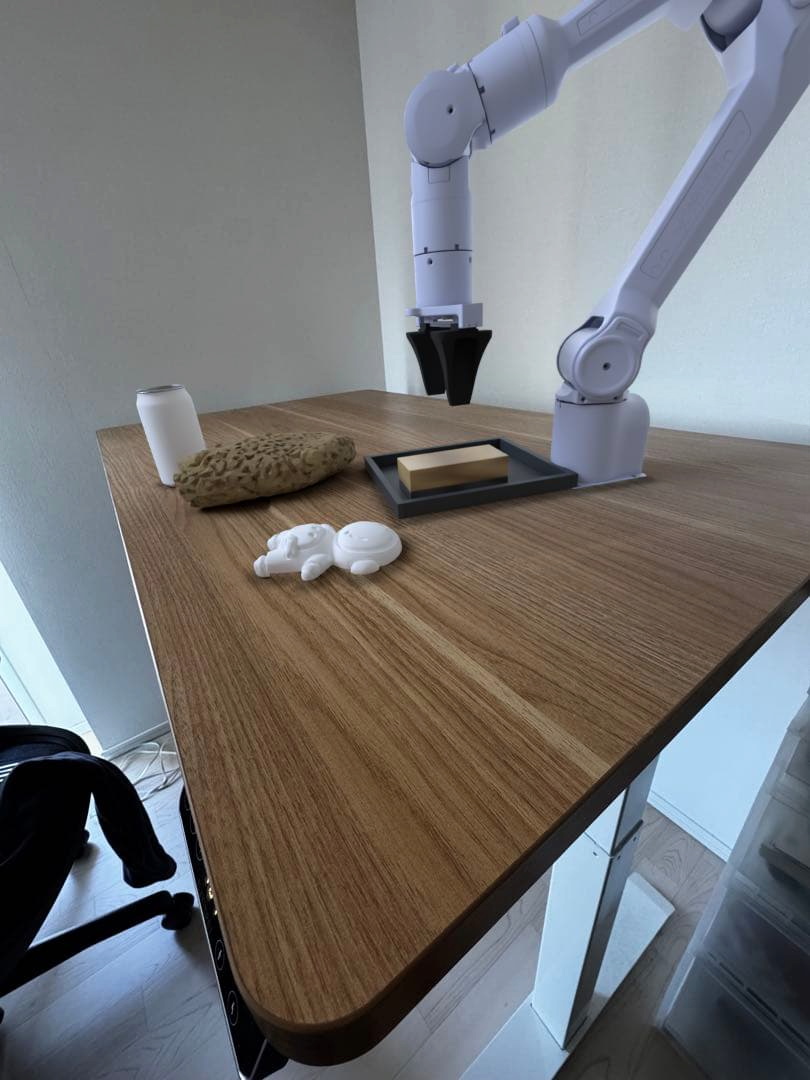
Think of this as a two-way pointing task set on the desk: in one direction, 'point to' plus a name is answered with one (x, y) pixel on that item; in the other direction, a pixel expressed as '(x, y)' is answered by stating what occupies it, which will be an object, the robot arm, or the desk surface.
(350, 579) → the desk surface
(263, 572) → the astronaut figurine
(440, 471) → the eraser
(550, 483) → the tray
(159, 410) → the can
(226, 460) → the sponge
